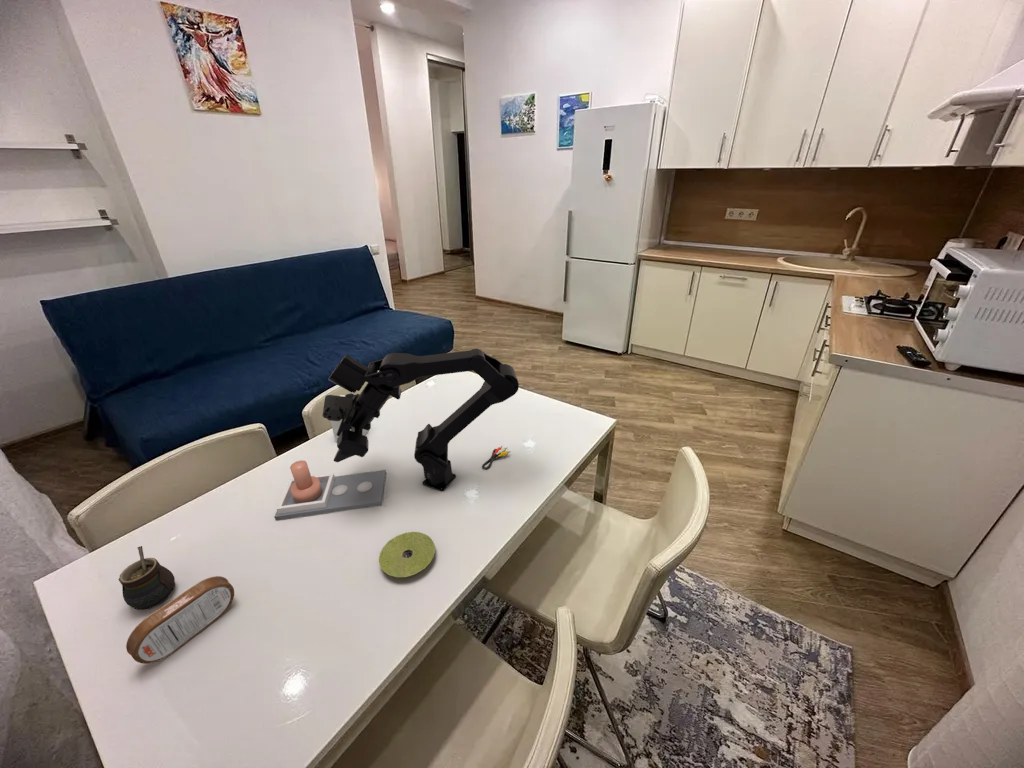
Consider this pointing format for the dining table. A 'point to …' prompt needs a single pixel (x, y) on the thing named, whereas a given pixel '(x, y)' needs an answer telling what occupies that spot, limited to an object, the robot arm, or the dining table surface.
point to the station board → (336, 495)
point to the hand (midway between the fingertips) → (337, 448)
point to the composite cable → (495, 456)
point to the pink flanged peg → (304, 483)
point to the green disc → (407, 554)
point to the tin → (180, 620)
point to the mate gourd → (146, 583)
